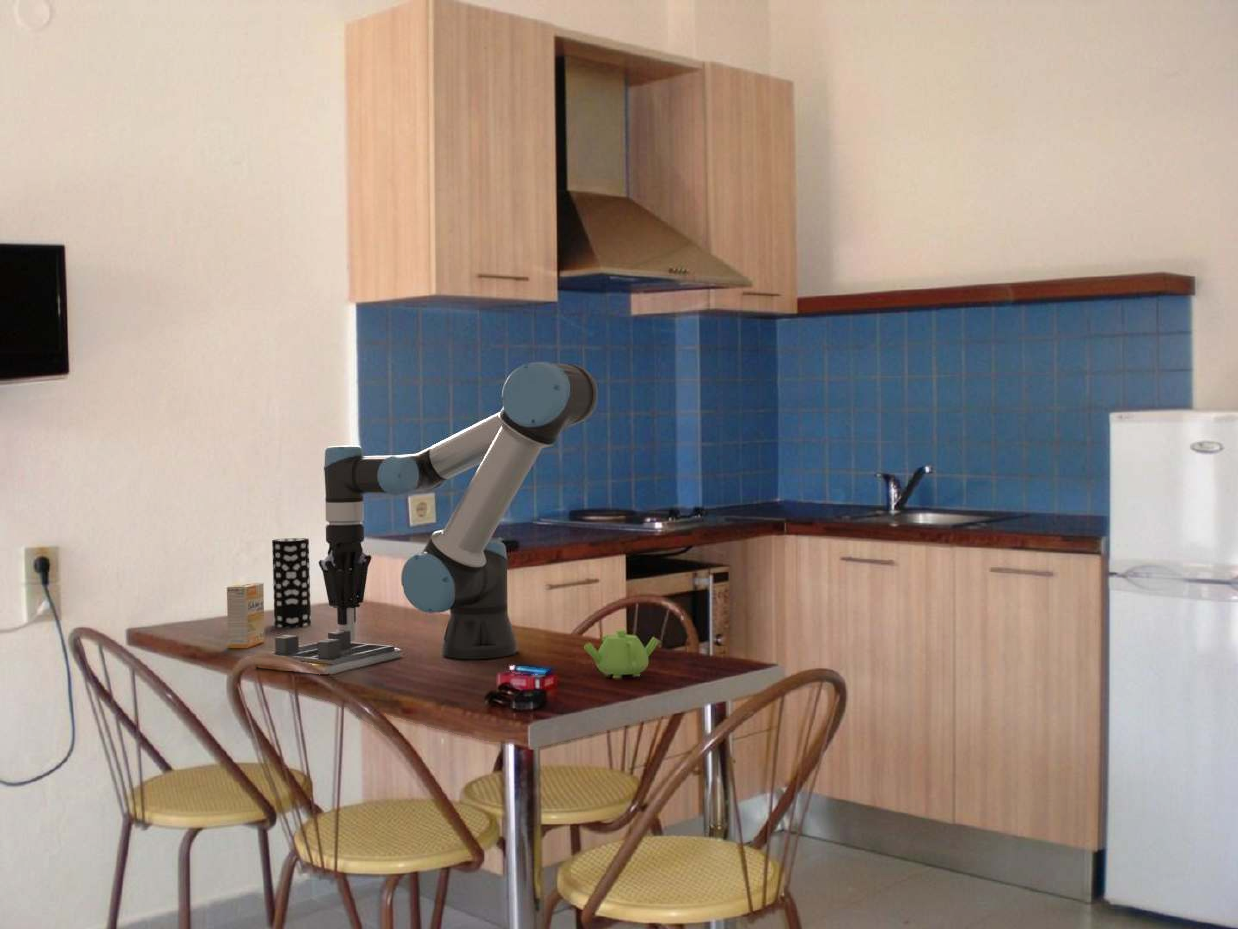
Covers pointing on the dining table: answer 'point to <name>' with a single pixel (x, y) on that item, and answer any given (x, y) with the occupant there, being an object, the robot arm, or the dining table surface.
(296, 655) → the panel
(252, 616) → the supplement box
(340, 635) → the breaker mid
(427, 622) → the dining table surface
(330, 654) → the breaker
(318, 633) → the dining table surface
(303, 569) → the spotted tube
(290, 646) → the breaker
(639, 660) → the teapot
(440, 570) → the robot arm
